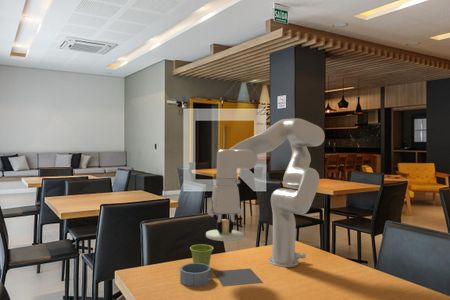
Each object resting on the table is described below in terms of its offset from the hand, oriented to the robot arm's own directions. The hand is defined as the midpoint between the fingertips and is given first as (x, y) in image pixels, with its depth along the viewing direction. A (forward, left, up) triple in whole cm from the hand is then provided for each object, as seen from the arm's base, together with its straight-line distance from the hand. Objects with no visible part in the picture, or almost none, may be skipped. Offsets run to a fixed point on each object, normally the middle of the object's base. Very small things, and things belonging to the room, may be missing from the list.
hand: (224, 231), depth 132 cm
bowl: (+11, 0, -18) cm, 21 cm away
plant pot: (+6, -13, -18) cm, 23 cm away
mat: (-5, 0, -18) cm, 18 cm away
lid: (0, 0, -2) cm, 2 cm away
